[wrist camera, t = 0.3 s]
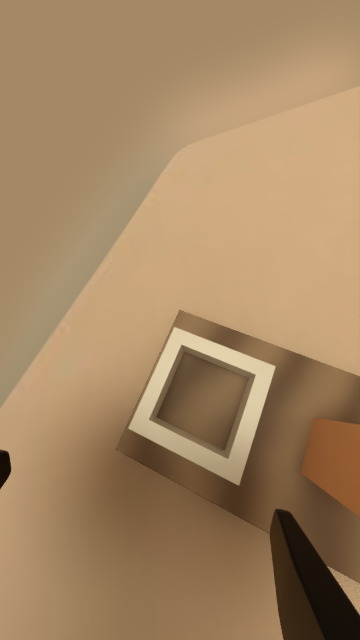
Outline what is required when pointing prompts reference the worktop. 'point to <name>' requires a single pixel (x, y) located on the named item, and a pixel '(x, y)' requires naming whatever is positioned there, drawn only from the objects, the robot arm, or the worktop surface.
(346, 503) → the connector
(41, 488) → the worktop surface
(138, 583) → the worktop surface
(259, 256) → the worktop surface
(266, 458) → the board
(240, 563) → the worktop surface
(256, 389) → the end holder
